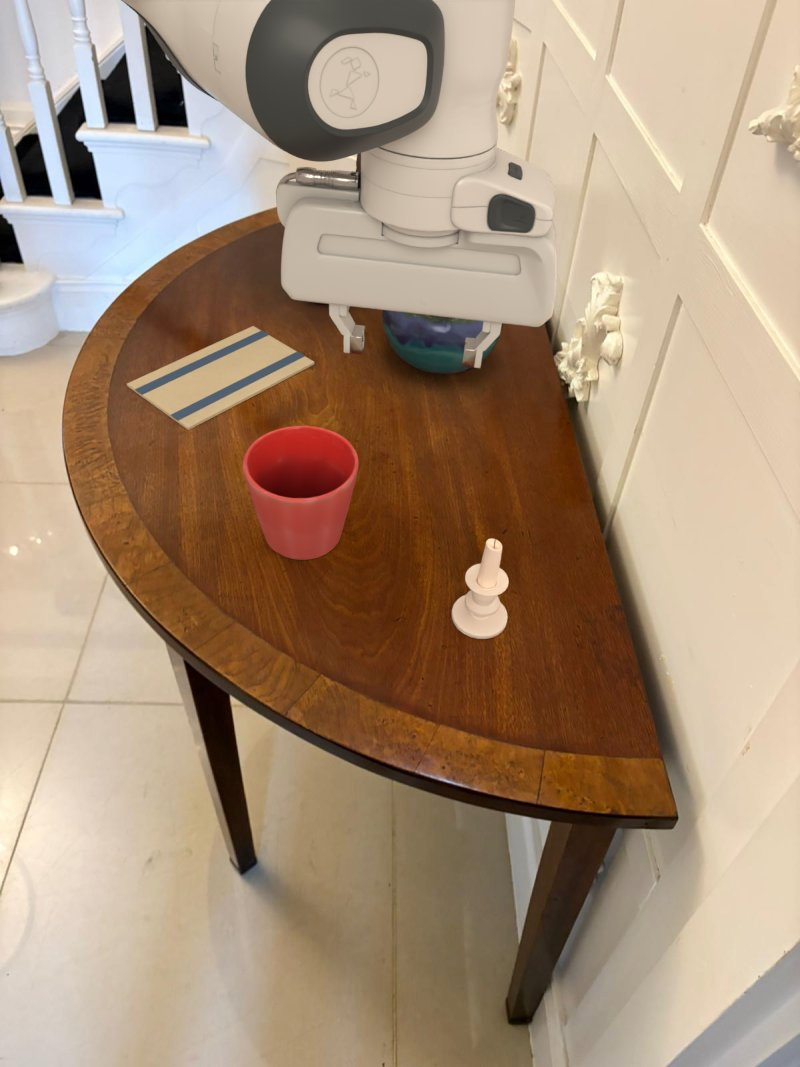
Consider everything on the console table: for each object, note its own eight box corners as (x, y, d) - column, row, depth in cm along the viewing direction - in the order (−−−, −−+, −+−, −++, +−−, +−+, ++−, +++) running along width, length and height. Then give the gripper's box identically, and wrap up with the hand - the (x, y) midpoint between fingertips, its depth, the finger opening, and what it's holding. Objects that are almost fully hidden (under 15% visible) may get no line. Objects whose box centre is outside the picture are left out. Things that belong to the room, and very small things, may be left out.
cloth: (188, 430, 90) (187, 427, 90) (126, 386, 96) (126, 383, 95) (314, 364, 101) (314, 361, 101) (253, 328, 107) (253, 325, 106)
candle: (500, 594, 76) (518, 516, 68) (512, 637, 72) (532, 560, 65) (447, 597, 75) (459, 519, 68) (456, 641, 71) (470, 563, 64)
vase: (518, 374, 103) (537, 279, 93) (417, 403, 97) (426, 305, 87) (456, 318, 112) (467, 226, 102) (360, 342, 106) (362, 246, 96)
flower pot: (379, 533, 80) (383, 460, 74) (298, 590, 74) (295, 516, 68) (308, 483, 85) (306, 410, 78) (227, 532, 79) (218, 458, 72)
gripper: (262, 181, 51) (275, 363, 61) (577, 214, 50) (538, 394, 60) (284, 147, 56) (293, 322, 65) (574, 177, 55) (538, 350, 64)
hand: (412, 356), depth 63 cm, fingers open, 8 cm apart
